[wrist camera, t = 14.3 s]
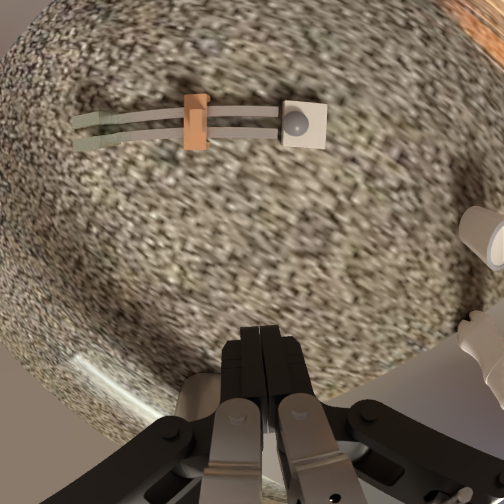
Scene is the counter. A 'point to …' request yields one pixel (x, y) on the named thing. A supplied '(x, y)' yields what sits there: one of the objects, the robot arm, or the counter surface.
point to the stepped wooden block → (195, 121)
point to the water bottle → (484, 349)
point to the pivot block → (304, 124)
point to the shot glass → (484, 235)
